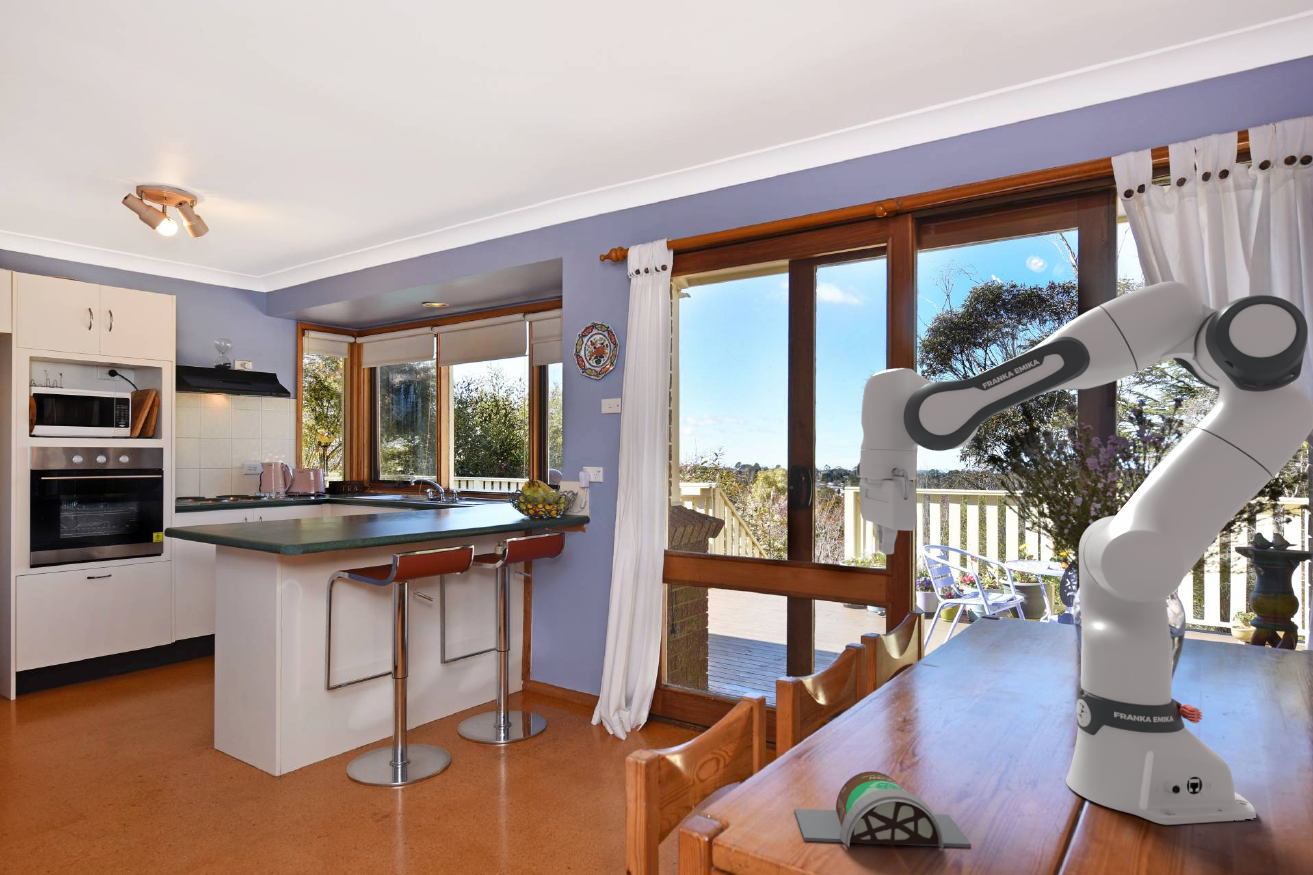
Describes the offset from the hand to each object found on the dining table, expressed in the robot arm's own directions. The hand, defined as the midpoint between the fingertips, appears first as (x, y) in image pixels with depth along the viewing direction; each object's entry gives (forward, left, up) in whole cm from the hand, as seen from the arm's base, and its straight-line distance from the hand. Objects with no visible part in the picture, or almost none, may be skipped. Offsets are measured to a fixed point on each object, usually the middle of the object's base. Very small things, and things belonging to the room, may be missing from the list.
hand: (885, 553), depth 125 cm
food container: (+8, +24, -28) cm, 37 cm away
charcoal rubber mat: (+8, +28, -31) cm, 43 cm away
